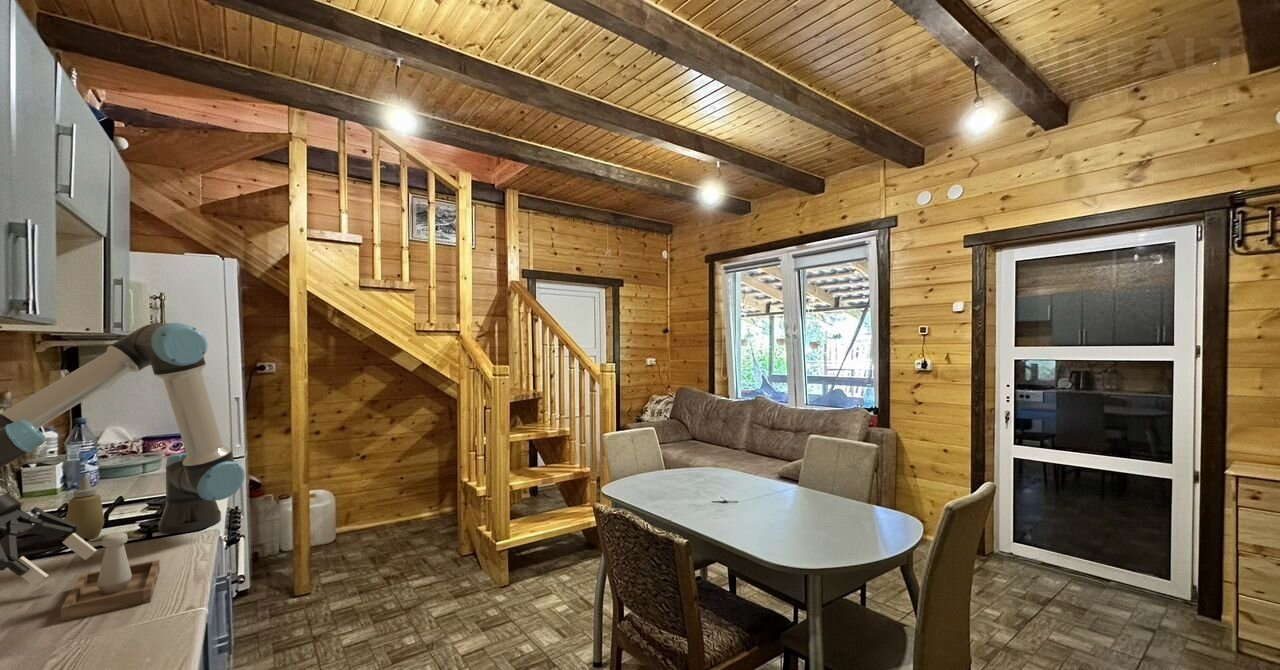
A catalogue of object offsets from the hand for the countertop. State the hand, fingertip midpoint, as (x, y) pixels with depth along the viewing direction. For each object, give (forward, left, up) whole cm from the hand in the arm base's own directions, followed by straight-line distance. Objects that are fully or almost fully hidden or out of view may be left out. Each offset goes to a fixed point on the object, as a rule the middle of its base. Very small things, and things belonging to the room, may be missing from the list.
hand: (68, 567), depth 123 cm
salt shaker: (-3, +8, -6) cm, 11 cm away
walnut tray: (-3, +8, -7) cm, 11 cm away
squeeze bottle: (-30, -37, -7) cm, 48 cm away
